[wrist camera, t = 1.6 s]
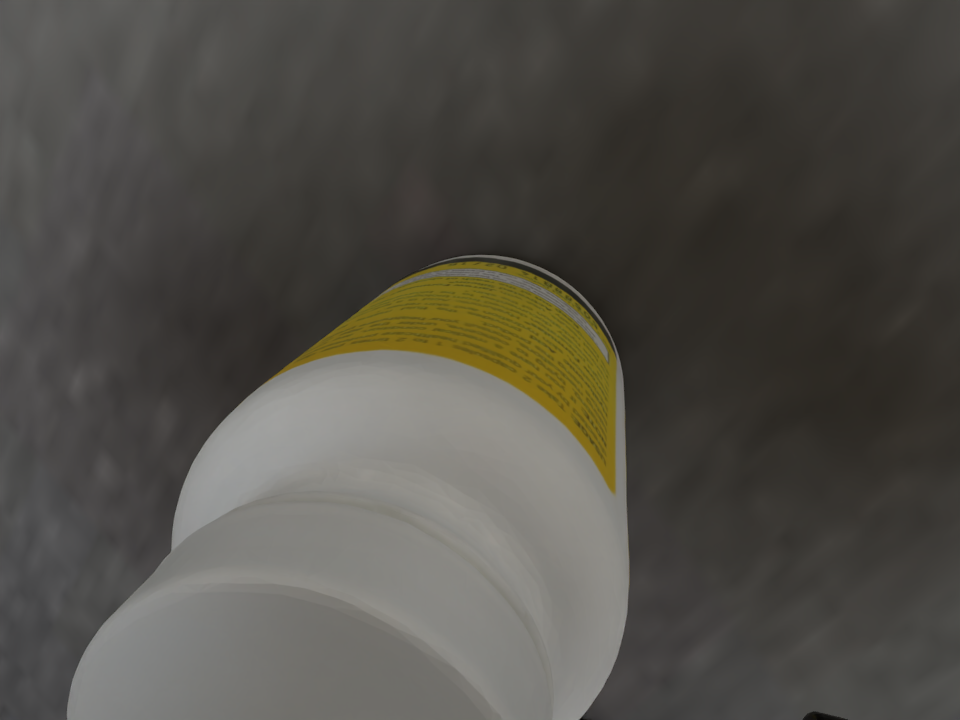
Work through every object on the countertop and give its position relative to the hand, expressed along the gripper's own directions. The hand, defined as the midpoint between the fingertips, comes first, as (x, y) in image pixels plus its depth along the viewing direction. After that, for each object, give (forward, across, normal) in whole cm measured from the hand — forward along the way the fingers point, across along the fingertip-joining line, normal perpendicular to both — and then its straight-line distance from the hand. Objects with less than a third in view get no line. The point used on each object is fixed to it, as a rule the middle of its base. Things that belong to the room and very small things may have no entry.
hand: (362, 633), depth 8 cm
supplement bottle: (+8, 0, 0) cm, 8 cm away
